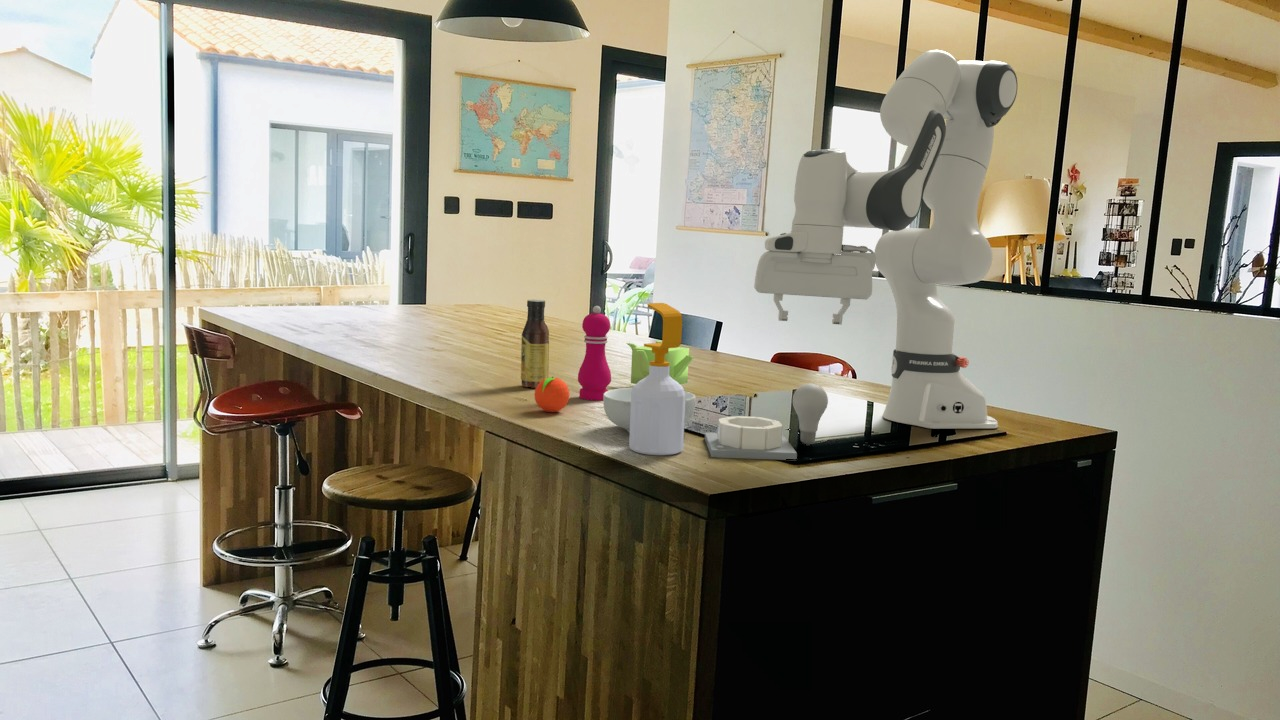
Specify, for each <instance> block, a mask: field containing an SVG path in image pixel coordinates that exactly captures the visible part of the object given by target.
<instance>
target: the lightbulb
mask: <svg viewBox="0 0 1280 720" xmlns="http://www.w3.org/2000/svg"><path fill="white" fill-rule="evenodd" d="M828 404H829V397H828V395H827V392H826V391H825V390H824V388H822V387H821V386H820V385H818V384H815V383H804V384H803V385H800V386H798V388H797V389H796V390H795V391H794V393H793V396H792V406H793V409H794V411H795V413H796V414H797V415H796V416H797V418H798V423H799V424H798V425H799V430H800V437H799V438H800V442H801V443H803V445H805V444H806V445H805V446H811V445H812V444H814V443H815V442H816V436H817V435H816V434H817V431H818V428H819V422H820V420H821V418H822V416H823V415H824V413H825V411H826V409H827V408H828ZM810 444H811V445H810Z"/></svg>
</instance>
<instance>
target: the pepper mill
mask: <svg viewBox="0 0 1280 720" xmlns="http://www.w3.org/2000/svg"><path fill="white" fill-rule="evenodd" d="M601 311H602V309H601V307H600V306H599V305H595V306H594V307H593V308H592V312H593V313H589V314H587V315H586V316H585V317H583V320H582V324H581V325H582V326H581V327H582V330H583V332H584V333H585V335H584V340H583V342H584V343H585V354H584V358H583V360H582V364H581V365H580V368H579V370H578V373H577V374H578V375H577V381H578V383H579V385H580V386H581V387H582V388H580V389H579V393H578V394H579V398H580V400H584V401H585V400H586V401H593V402H595V401H603V394H604V393H605V392H607V391H609V390H608V389H607V387H608V386H609V385H610V384H611V382H612V373H611V369H610V366H609V364H608V361H607V358H606V357H607V356H606V344H607V343H608V336H607V335H608V333H609V332H610V329H611V321H610V319H609V317H607V316H606V315H605V314H602V313H601Z"/></svg>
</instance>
